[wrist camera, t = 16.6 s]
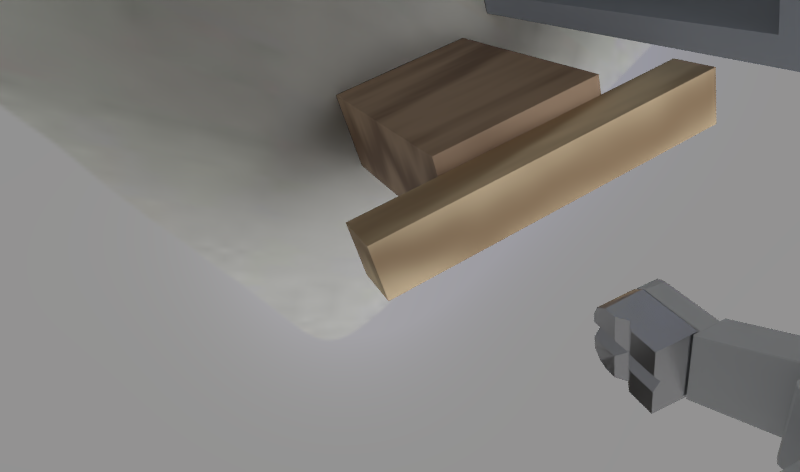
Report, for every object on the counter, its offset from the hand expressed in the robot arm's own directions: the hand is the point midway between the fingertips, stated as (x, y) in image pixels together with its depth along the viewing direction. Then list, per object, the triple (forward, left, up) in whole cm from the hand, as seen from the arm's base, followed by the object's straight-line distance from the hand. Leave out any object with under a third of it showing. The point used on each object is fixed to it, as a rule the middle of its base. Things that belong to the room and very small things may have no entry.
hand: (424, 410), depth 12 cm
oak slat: (+8, +14, -19) cm, 25 cm away
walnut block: (+8, +14, -35) cm, 38 cm away
